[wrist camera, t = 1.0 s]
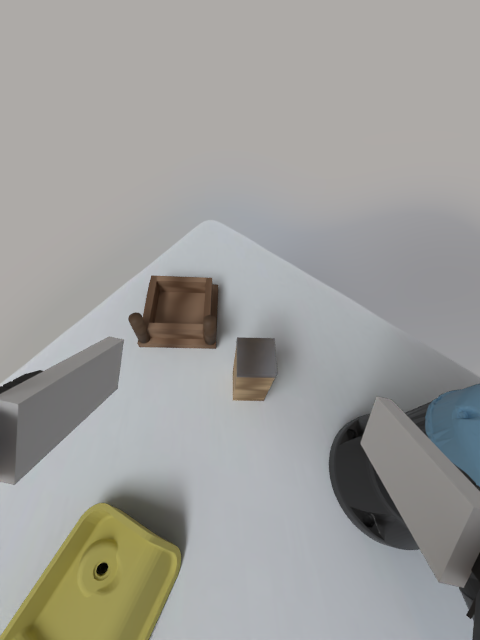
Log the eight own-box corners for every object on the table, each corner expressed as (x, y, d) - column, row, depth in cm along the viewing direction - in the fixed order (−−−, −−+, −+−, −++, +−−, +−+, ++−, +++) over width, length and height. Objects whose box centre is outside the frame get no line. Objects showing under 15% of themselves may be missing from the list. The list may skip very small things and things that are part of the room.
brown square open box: (218, 288, 52) (218, 261, 46) (215, 348, 46) (215, 326, 40) (150, 286, 51) (142, 258, 45) (139, 346, 45) (127, 323, 39)
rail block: (262, 371, 45) (274, 338, 35) (263, 401, 42) (277, 374, 33) (232, 370, 44) (237, 337, 35) (232, 400, 42) (237, 373, 32)
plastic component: (95, 495, 33) (156, 539, 28) (130, 511, 38) (188, 551, 33) (-90, 768, 22) (-44, 924, 17) (-6, 742, 27) (49, 857, 22)
